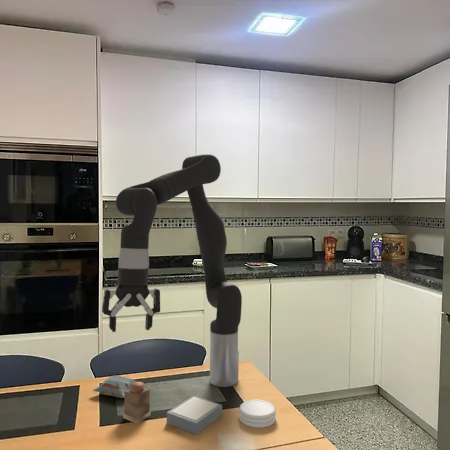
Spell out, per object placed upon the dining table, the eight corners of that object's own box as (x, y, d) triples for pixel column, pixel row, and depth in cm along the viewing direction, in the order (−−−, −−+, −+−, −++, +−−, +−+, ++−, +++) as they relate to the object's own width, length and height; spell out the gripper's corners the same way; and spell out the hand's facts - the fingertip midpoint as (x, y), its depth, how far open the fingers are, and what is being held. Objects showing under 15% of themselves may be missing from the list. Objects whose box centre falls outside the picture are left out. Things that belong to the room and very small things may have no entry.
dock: (193, 405, 124) (193, 395, 124) (222, 415, 119) (222, 404, 119) (166, 423, 114) (166, 411, 114) (196, 434, 109) (196, 422, 109)
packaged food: (124, 404, 125) (124, 387, 125) (92, 396, 129) (92, 380, 129) (141, 392, 133) (141, 377, 133) (110, 385, 138) (110, 370, 137)
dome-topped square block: (136, 410, 121) (137, 379, 120) (150, 415, 118) (150, 383, 118) (123, 418, 117) (123, 385, 116) (137, 423, 114) (137, 390, 113)
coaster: (245, 431, 111) (245, 418, 111) (234, 413, 121) (234, 401, 120) (281, 426, 114) (281, 413, 114) (267, 408, 123) (267, 397, 123)
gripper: (157, 265, 114) (154, 326, 114) (102, 265, 109) (99, 328, 108) (164, 267, 107) (162, 332, 107) (106, 267, 102) (103, 335, 101)
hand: (130, 330), depth 107 cm, fingers open, 8 cm apart
